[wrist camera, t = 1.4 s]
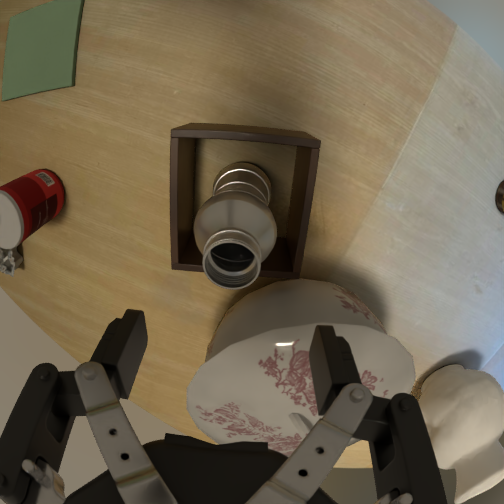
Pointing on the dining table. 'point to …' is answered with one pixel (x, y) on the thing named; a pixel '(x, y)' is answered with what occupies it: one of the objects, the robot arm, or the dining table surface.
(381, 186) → the dining table surface
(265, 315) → the chamber pot
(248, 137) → the crate
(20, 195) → the canned food
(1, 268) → the egg carton
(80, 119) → the dining table surface
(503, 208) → the sauce bottle
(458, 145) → the dining table surface
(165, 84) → the dining table surface
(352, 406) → the robot arm
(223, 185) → the plastic bottle
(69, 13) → the mat
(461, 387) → the vase
